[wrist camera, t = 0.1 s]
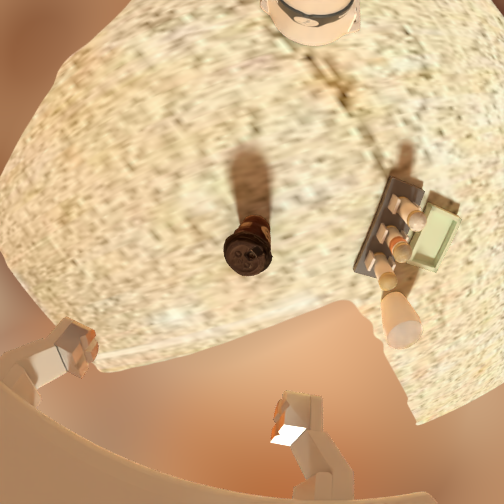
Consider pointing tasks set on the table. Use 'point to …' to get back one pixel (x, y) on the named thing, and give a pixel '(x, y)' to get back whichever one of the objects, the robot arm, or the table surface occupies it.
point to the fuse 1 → (384, 272)
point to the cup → (400, 321)
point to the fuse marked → (398, 244)
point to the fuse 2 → (411, 214)
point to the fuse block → (384, 218)
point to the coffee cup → (249, 247)
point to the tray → (433, 238)
